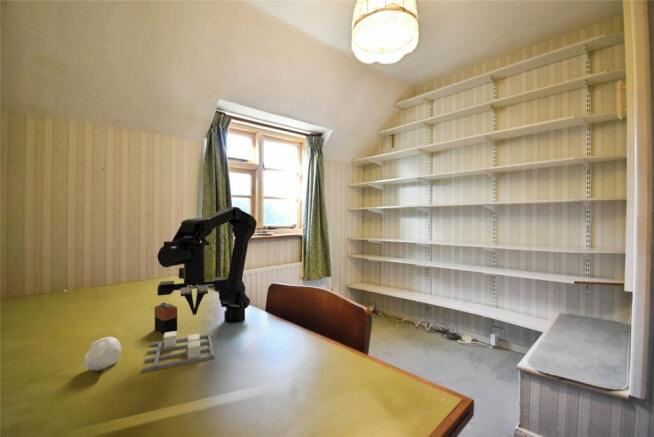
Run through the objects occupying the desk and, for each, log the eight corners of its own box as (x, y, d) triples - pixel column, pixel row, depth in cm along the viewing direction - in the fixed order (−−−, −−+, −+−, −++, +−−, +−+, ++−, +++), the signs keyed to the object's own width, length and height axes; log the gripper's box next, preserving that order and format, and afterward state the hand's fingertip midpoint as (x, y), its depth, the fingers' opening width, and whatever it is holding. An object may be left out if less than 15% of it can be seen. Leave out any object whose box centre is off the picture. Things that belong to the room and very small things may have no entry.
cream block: (199, 353, 81) (199, 340, 81) (200, 358, 78) (200, 345, 78) (187, 355, 80) (187, 342, 80) (187, 361, 77) (187, 347, 77)
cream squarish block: (176, 342, 88) (176, 331, 88) (175, 347, 85) (175, 335, 85) (164, 344, 87) (164, 332, 87) (163, 349, 83) (163, 337, 83)
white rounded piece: (84, 366, 77) (84, 336, 77) (120, 358, 81) (120, 329, 81) (83, 380, 70) (83, 348, 70) (122, 370, 75) (122, 339, 75)
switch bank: (210, 339, 93) (210, 333, 93) (214, 363, 79) (214, 355, 79) (143, 350, 85) (143, 343, 85) (134, 378, 71) (134, 370, 71)
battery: (164, 338, 94) (164, 307, 94) (154, 333, 98) (153, 303, 98) (178, 334, 97) (177, 304, 97) (167, 329, 101) (167, 300, 101)
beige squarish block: (199, 345, 86) (199, 333, 86) (199, 351, 83) (199, 338, 83) (187, 347, 85) (187, 335, 85) (187, 353, 81) (187, 340, 81)
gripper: (224, 256, 99) (224, 303, 99) (160, 260, 91) (160, 310, 91) (228, 261, 89) (228, 313, 89) (157, 265, 81) (157, 322, 81)
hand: (194, 314), depth 88 cm, fingers closed
